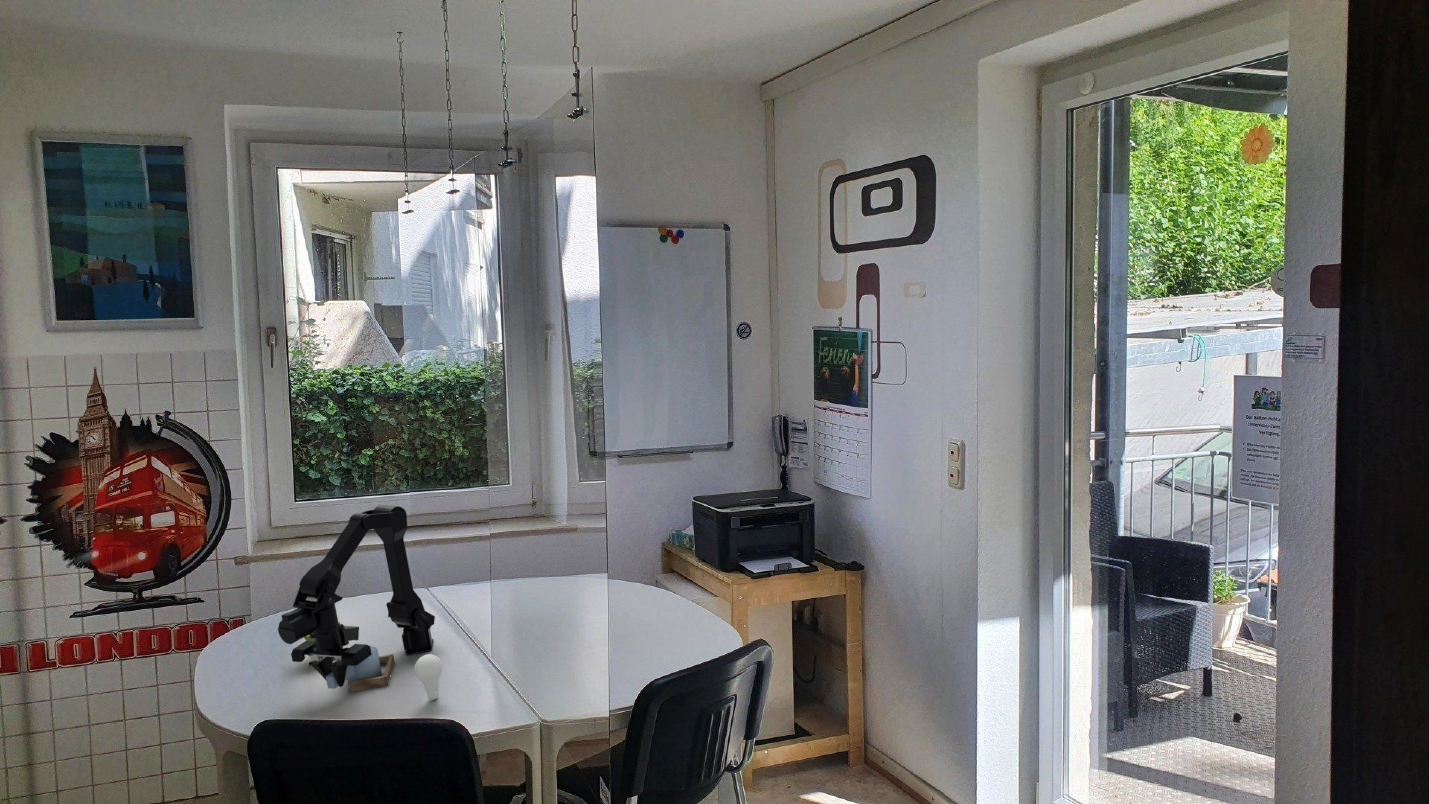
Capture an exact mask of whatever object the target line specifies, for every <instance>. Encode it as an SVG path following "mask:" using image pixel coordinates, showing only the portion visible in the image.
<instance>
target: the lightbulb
mask: <svg viewBox="0 0 1429 804" xmlns="http://www.w3.org/2000/svg"><path fill="white" fill-rule="evenodd" d="M442 671H443V663H442V660H441V659H440V658H439V656H436V655H435V654H431V653H430V654H429V653H428V654H424V655H422V656H421V657H419V658H418V659H417V661H416V663H415V665H414V673H415V675H416V677H417V679H419V681H420V682H421V683H422V686H423V687H424V691H425V692H426V695H427V698H428V700H432V701H434V700H436V699H437V698H439V696H440V692H439V691H440V690H439V687H440V683H439V682H440V677H441V674H442Z"/></svg>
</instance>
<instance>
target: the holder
mask: <svg viewBox="0 0 1429 804" xmlns="http://www.w3.org/2000/svg"><path fill="white" fill-rule="evenodd" d="M379 660H380V666H381V667H382V666H386V667H385V671H384V673H383V675H382V676H380V677H375V678H369V679H364V680H358V681H353V682H349V684H348V686H349V692H350V693H352V692H358V691H364V690H368V689H375V688H381V687H386V686H389V685H388V684H390V681H391V677H390V675H391V676H392V674H391V673H393V669H394V665H395V663H396V662H395V655H394V654H393V653H392V654H385V655H379ZM389 680H390V681H389Z"/></svg>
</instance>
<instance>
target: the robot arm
mask: <svg viewBox="0 0 1429 804" xmlns="http://www.w3.org/2000/svg"><path fill="white" fill-rule="evenodd" d="M348 520H349V521H348V523H347V525H345V528H344V529H343V530H342V532H341V533H340V534H339V536H338V537H337V539H336V541H335V542H334V543H333V545H332V546H331V548H330V549H329V550H328V552H327V553H326V555H325V557H324V558H322V560H321V561H320V562H318V563H317V564H315V565H313V566H311V568H310V569H309V570H308V571H307V572H306V573H305V574H304V575H303V576H302V577H301V579H300V581H299V584H298V585H299V588H298V591H297V593H296V595H295V599H294V601H293V604H292V607H293V608H294V609H293V610H291V611H289V612H286V613H283V614H281V620H280V621H279V622H278V628H277V632H278V634H279V637H280V639H281V640H282V641H283V642H284V643H285V644H287V645H292V644H294V643H297V642H299V641H301V640H302V639H305V638H304V637H306V636H308V635H310V638H315V641H306V640H305V641H303V642H301V643H300V644H299V645H297V646H296V647H294V648H293V649H292V651H291V653H290V655H291V660H292V662H295V663H303V661H304V660H305V659H306V656H308V657H309V659H310V662H309V663H308V665H309V666H310V667H312V668H313V669H314V670H315V671H316V672H318V673H319V675H320V676H321V677H322V678H323V679H324V680H325V681H326V682H327V680H326V676H327V675H329V674H330V673H331V672H333V674H334V677H335V679H336V681H337V684H338V685H339V686H338V687H339V688H342V687H343V686H344V684H345V682H346V681H345V676H346V671H347V667H348V666H356V665H359V664H360V663H361V662H363V661H364V660H365V659H367V658H368V657H369V656H371V655H372V653H371V648H370V646H371V645H368V644H367V643H366V644H365V643H354V644H353V645H351V646H350V647H347V646H348V645H349V644H350V641H359V640H360V639H359V636H360V626H356V625H355V626H353V625H344V624H343V623H339V622H340V621H339V618H338V612H337V607H336V604H337V603H338V602H340V601H343V596H340V595H338V594H336V591H337V589H338V587H339V585H340V583H341V579H342V571H343V570H344V568H345V566H346V565H347V563H348V562H349V560H350V559H351V557H352V555H353V554H354V553H355V552H356V549H358V547H359V546H360V544H361V543H362V541H363V540H364V538H365V536H366V535H367V534H368V532H369V531H370V530H374V532H375V534H376V535H377V537H378V538H379V539H381V541H382V544H383V548H384V552H385V553H384V554H385V558H386V565H387V570H388V574H389V579H390V584H391V590H392V596H391V599H390V601H388V602H387V603H386V604H385V605H386V609H387V617H388V618H390V621H391V622H393V623H394V624H395V625H396V627H397V628H398V629H402V631H403V632H402V634H401V640H402V645H403V650H404V651H405V655H406V656H408V654H409V655H413V653H415V654H420V652H421V653H425V652H430V651H432V650H433V645H434V638H433V637H432V632H431V627H432V626H433V625H435V621H436V619H435V618H436V617H435V615H434V614H432V613H430V612H428V611H427V610H425V606H424V603H423V601H422V599H421V598H420V596H419V595H418V594H417V593H416V591H415V590H414V587H413V582H412V575H411V570H410V566H409V561H408V555H407V550H406V545H405V538H404V537H405V535H406V532H407V529H408V514H407V510H405V508H404V507H402V506H400V505H390V504H389V505H386V504H379V505H377V506H375V507H374V508H373V509H369V510H364V511H361V512H359V513H358V512H357V513H354V514H352V515H351V516H350V517H349V519H348ZM307 599H314V600H315V601H314V600H307ZM338 621H339V622H338ZM334 657H335V659H334V660H333V658H334ZM344 681H345V682H344Z"/></svg>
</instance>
